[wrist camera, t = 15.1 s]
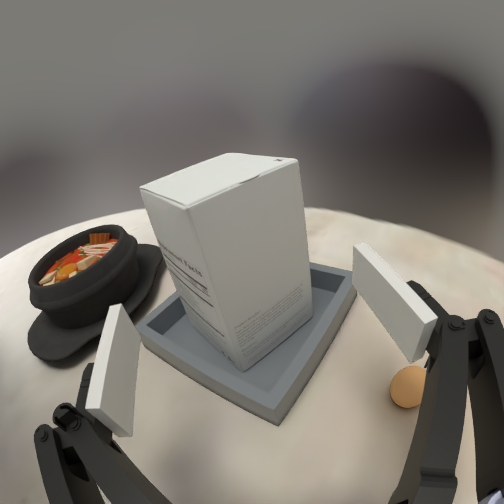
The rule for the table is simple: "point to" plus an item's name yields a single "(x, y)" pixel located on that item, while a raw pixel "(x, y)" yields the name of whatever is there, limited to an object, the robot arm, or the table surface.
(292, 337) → the tray
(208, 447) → the table surface
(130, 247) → the casserole
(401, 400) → the ball
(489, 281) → the table surface
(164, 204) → the supplement box
